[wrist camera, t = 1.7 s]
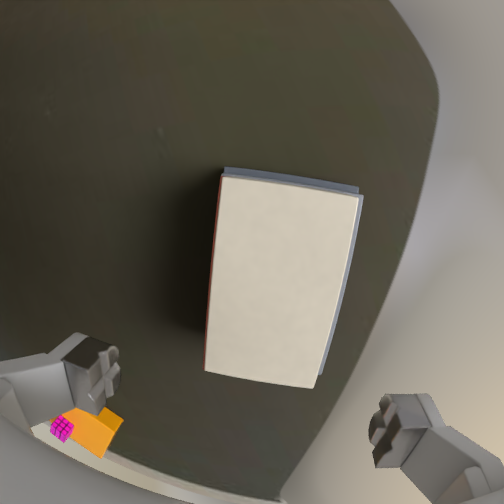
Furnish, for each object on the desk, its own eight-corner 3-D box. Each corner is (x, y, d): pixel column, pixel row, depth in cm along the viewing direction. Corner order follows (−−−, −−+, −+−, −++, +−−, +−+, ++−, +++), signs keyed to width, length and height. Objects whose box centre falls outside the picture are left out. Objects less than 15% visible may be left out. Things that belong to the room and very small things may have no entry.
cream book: (229, 175, 16) (219, 176, 14) (350, 194, 16) (359, 197, 14) (211, 351, 19) (202, 370, 17) (312, 368, 19) (313, 389, 16)
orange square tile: (63, 374, 26) (41, 395, 22) (123, 419, 26) (106, 445, 22) (56, 409, 28) (38, 429, 24) (108, 447, 28) (94, 470, 24)
